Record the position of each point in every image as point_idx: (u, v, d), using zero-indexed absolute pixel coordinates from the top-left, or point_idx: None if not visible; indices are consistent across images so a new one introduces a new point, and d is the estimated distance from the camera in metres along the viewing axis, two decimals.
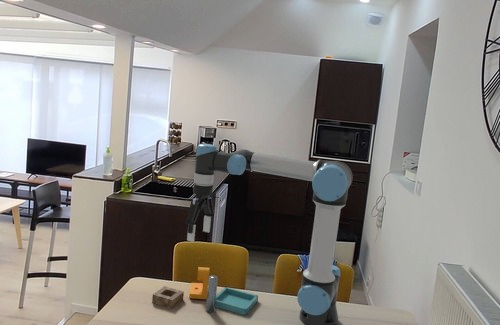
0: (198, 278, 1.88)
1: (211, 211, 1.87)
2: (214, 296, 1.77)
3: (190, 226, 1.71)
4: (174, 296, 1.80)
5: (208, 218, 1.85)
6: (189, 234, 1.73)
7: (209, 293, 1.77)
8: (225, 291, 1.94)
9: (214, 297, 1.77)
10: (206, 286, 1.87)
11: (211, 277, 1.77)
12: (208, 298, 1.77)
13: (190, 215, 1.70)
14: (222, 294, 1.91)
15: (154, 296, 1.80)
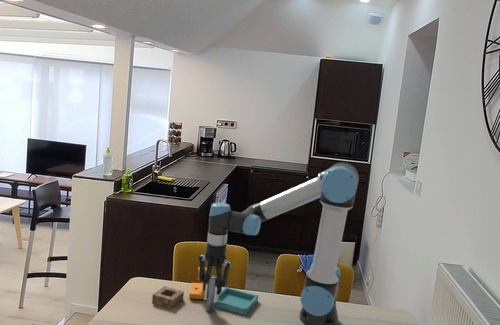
0: (198, 278, 1.88)
1: None
2: None
3: None
4: (174, 296, 1.80)
5: None
6: None
7: (209, 293, 1.77)
8: (225, 291, 1.94)
9: None
10: None
11: (211, 277, 1.77)
12: (208, 298, 1.77)
13: None
14: (222, 294, 1.91)
15: (154, 296, 1.80)
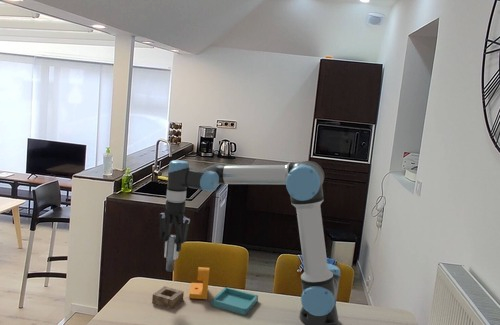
0: (198, 278, 1.88)
1: None
2: None
3: None
4: (174, 296, 1.80)
5: None
6: None
7: (168, 252, 1.79)
8: (225, 291, 1.94)
9: None
10: (206, 286, 1.87)
11: (170, 236, 1.79)
12: (167, 257, 1.79)
13: None
14: (222, 294, 1.91)
15: (154, 296, 1.80)
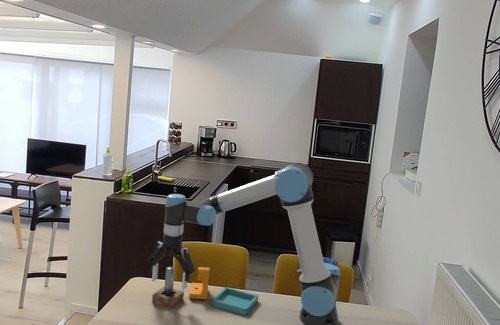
0: (198, 278, 1.88)
1: None
2: (171, 287, 1.81)
3: None
4: (174, 296, 1.80)
5: None
6: None
7: (166, 284, 1.81)
8: (225, 291, 1.94)
9: (171, 288, 1.81)
10: (206, 286, 1.87)
11: (168, 268, 1.81)
12: (165, 289, 1.81)
13: None
14: (222, 294, 1.91)
15: (154, 296, 1.80)
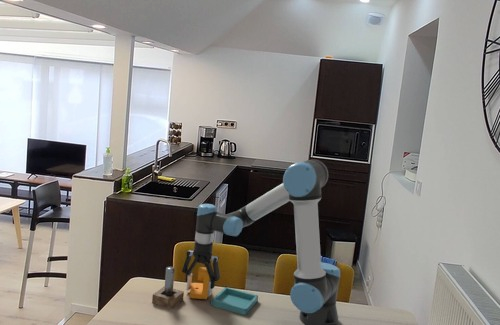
0: (198, 278, 1.88)
1: None
2: (171, 287, 1.81)
3: None
4: (174, 296, 1.80)
5: None
6: None
7: (166, 284, 1.81)
8: (225, 291, 1.94)
9: (171, 288, 1.81)
10: (206, 286, 1.87)
11: (168, 268, 1.81)
12: (165, 289, 1.81)
13: None
14: (222, 294, 1.91)
15: (154, 296, 1.80)
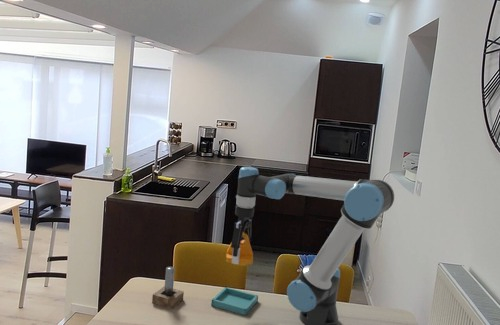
0: None
1: (249, 235, 1.90)
2: (171, 287, 1.81)
3: (235, 249, 1.78)
4: (174, 296, 1.80)
5: None
6: (234, 257, 1.79)
7: (166, 284, 1.81)
8: (225, 291, 1.94)
9: (171, 288, 1.81)
10: (250, 246, 1.87)
11: (168, 268, 1.81)
12: (165, 289, 1.81)
13: (235, 239, 1.76)
14: (222, 294, 1.91)
15: (154, 296, 1.80)
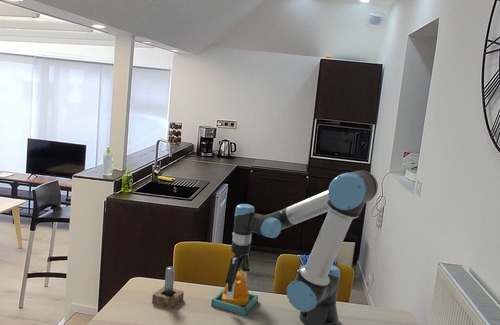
0: None
1: (247, 266, 1.94)
2: (171, 287, 1.81)
3: (230, 285, 1.78)
4: (174, 296, 1.80)
5: (244, 273, 1.92)
6: (228, 292, 1.80)
7: (166, 284, 1.81)
8: None
9: (171, 288, 1.81)
10: (246, 286, 1.89)
11: (168, 268, 1.81)
12: (165, 289, 1.81)
13: (230, 275, 1.77)
14: (222, 294, 1.91)
15: (154, 296, 1.80)
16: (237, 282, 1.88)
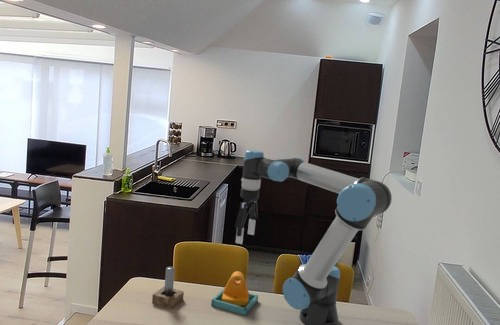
0: None
1: None
2: (171, 287, 1.81)
3: (239, 229, 1.78)
4: (174, 296, 1.80)
5: (253, 221, 1.92)
6: (238, 237, 1.80)
7: (166, 284, 1.81)
8: None
9: (171, 288, 1.81)
10: (246, 286, 1.89)
11: (168, 268, 1.81)
12: (165, 289, 1.81)
13: (239, 219, 1.77)
14: (222, 294, 1.91)
15: (154, 296, 1.80)
16: (237, 282, 1.88)
